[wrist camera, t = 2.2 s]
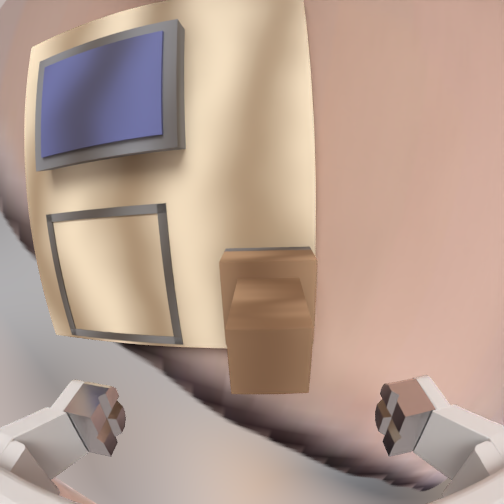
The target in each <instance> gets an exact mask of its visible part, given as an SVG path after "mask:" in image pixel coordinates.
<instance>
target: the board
mask: <svg viewBox="0 0 504 504" xmlns="http://www.w3.org/2000/svg"><path fill="white" fill-rule="evenodd" d="M24 152H25V175H26V189H27V200H28V209H29V217H30V224H31V231H32V237H33V243H34V249H35V254H36V259H37V264H38V269H39V273H40V278H41V282H42V286H43V290H44V294H45V298H46V302H47V305H48V309H49V312H50V316H51V319H52V322H53V325H54V329H55V332H56V334H57V335H63V336H70V337H77V338H84V339H92V340H101V341H110V342H120V343H131V344H143V345H157V346H173V347H196V348H227V345H226V341H225V330H224V319H223V307H222V295H221V282H220V269H219V261H220V259H221V257H222V255H223V253H224V251H225V249H226V248H264V247H307V246H310V248H311V250H312V251H313V253H314V255H315V243H316V180H315V141H314V118H313V100H312V84H311V70H310V58H309V47H308V36H307V27H306V18H305V9H304V1H303V0H166V1H161V2H156V3H152V4H148V5H144V6H140V7H136V8H132V9H129V10H125V11H122V12H118V13H115V14H112V15H109V16H106V17H103V18H100V19H97V20H94V21H91V22H89V23H86V24H83V25H81V26H78V27H76V28H73V29H71V30H68V31H66V32H64V33H61V34H59V35H57V36H55V37H52V38H50V39H48V40H46V41H44V42H42V43H40V44H38V45H36V46H34V47H32V49H31V55H30V62H29V70H28V78H27V89H26V102H25V125H24Z"/></svg>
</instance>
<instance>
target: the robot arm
mask: <svg viewBox="0 0 504 504" xmlns="http://www.w3.org/2000/svg"><path fill="white" fill-rule="evenodd" d="M380 395H381V397H382V400H381V401H380V402H379V403H378V404H377V407H376V411H375V421H376V426H377V428H378V431H379V432H380V433H382V434H384V435H385V437H384V439H383V443H384V446H385V448H386V451H387V453H388V456H394V455H399V454H403V453H407V452H411V451H414V453H415V454H416V455H418V456H419V457H420V458H422V459H423V460H425V461H426V462H427V463H429V464H430V465H431V466H433V467H434V468H435V469H437V470H438V471H440V472H441V473H442V474H444V475H445V476H447V477H448V478H450V479H451V480H452V481H451V482H450V483H449V485H448V486H447V487H446V489H445V490H444V491H443V493H442V496H443V498H440V499H438V500H435V501H432V502H430V503H427V504H504V426H503V425H501V424H499V423H496V422H494V421H491V420H489V419H487V418H484V417H482V416H480V415H477V414H475V413H473V412H470V411H468V410H466V409H464V408H461V407H459V406H457V405H455V404H454V405H450V404H449V402H448V401H447V400H446V398H445V397H444V395H443V394H442V393H441V391H440V390H439V389H438V387H437V386H436V384H435V383H434V382H433V380H432V379H431V378H430V377H429V376H428V375H424V376H420V377H416V378H413V379H407V380H402V381H397V382H392V383H386V384H384V385H383V387H382V389H381V392H380ZM118 397H119V395H118V393H117V390H116V388H114V387H112V386H107V385H101V384H96V383H91V382H84V381H80V380H73V381H71V382H70V383H69V385H68V386H67V387H66V389H65V390H64V391H63V392H62V394H61V395H60V396H59V397H58V399H57V400H56V401H55V403H54V404H53V405H52V407H51V408H48V407H46V408H44V409H42V410H40V411H37V412H35V413H33V414H31V415H28V416H26V417H24V418H21V419H19V420H17V421H14V422H12V423H10V424H7V425H5V426H3V427H0V504H80V503H78V502H75V501H72V500H70V499H67V498H65V497H62V496H60V495H59V494H60V491H59V489H58V488H57V486H56V485H55V484H54V483H53V482H52V481H51V479H53V478H54V477H56V476H57V475H59V474H60V473H61V472H63V471H64V470H66V469H67V468H68V467H70V466H71V465H73V464H74V463H75V462H77V461H78V460H79V459H81V458H82V457H84V456H85V455H86V454H88V452H92V453H96V454H101V455H105V456H110V457H111V455H112V453H113V451H114V449H115V447H116V445H117V439H116V436H118V435H119V434H121V433H122V431H123V429H124V427H125V420H126V417H125V411H124V408H123V406H122V405H121V404H120V403H119V402H118V401H117V399H118Z"/></svg>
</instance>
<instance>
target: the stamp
mask: <svg viewBox="0 0 504 504" xmlns="http://www.w3.org/2000/svg"><path fill="white" fill-rule="evenodd" d="M219 269H220V282H221V295H222V307H223V319H224V330H225V341H226V345H227V354H228V365H229V375H230V384H231V394H290V393H308V392H309V382H310V370H311V358H312V344H313V338H314V322H315V303H316V280H317V259H316V257H315V255H314V253H313V251H312V250H311V248H310V246H307V247H264V248H226V249H225V251H224V253H223V255H222V257H221V259H220V261H219Z"/></svg>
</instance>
